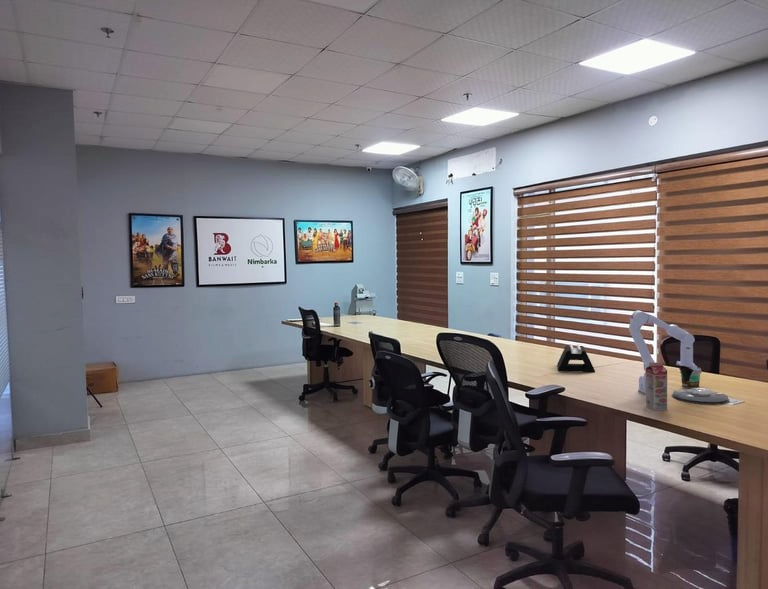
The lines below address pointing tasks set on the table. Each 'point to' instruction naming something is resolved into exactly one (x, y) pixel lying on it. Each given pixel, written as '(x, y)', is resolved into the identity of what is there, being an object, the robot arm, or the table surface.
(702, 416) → the table surface
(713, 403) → the turntable base
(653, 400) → the juice carton
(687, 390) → the turntable
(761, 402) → the table surface
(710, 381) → the table surface
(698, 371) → the food container
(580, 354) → the device stand
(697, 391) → the cover
